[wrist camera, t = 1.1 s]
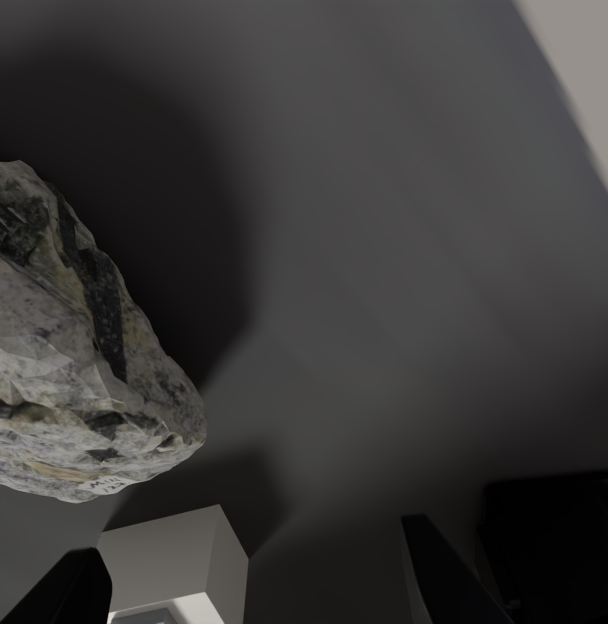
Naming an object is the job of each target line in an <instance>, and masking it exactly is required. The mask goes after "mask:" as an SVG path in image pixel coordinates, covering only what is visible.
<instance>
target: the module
mask: <svg viewBox="0 0 608 624" xmlns="http://www.w3.org/2000/svg"><path fill="white" fill-rule="evenodd" d="M96 548H97V549H98V550H99V552H100V554H101V556H102V559H103V561H104V563H105V565H106V568H107V570H108V572H109V574H110V576H111V579H112V587H113V589H112V598H111V604H110V610H109V616H108V621H107V624H243V616H244V605H245V594H246V583H247V572H248V561H249V559H248V557H247V555H246V553H245V552H244V550H243V548H242V546H241V544H240V542H239V540H238V538H237V536H236V535H235V533H234V531H233V529H232V527H231V525H230V523H229V521H228V520H227V518H226V516H225V514H224V512H223V510H222V508H221V506H220V505H219V504H218V505H214V506H210V507H205V508H201V509H197V510H193V511H189V512H185V513H180V514H176V515H172V516H168V517H164V518H160V519H156V520H151V521H147V522H143V523H139V524H135V525H131V526H126V527H122V528H118V529H114V530H110V531H106V532H102V534H101V536H100V539H99V541H98V544H97V547H96Z"/></svg>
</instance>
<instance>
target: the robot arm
mask: <svg viewBox="0 0 608 624" xmlns="http://www.w3.org/2000/svg"><path fill="white" fill-rule="evenodd" d="M496 494H497V495H496ZM494 495H495V496H494ZM399 531H400V546H401V557H402V564H403V569H404V575H405V581H406V586H407V592H408V598H409V603H410V609H411V615H412V620H413V624H608V472H601V473H591V474H582V475H572V476H562V477H553V478H543V479H533V480H524V481H514V482H504V483H495V484H491V485H489V486H487V487H486V488H485V489H484V492H483V511H482V524H479V525H478V527H477V528H476V545H475V564H476V567H477V570H478V573H479V576H480V579H481V581H480V580H479V578H478V577H477V576H476V575H475V574H474V572H473V571H472V570H471V569H470V567H469V566H468V565H467V564H466V562H465V561H464V560H463V559H462V557H461V556H460V555H459V554H458V553H457V551H456V550H455V549H454V548H453V546H452V545H451V544H450V543H449V541H448V540H447V539H446V538H445V536H444V535H443V534H442V533H441V532H440V530H439V529H438V528H437V527H436V525H435V524H434V523H433V522H432V520H431V519H430V518H429V517H428V516H427V515H426V514H425V513H422V512H419V513H409V514H402V515H401V516H400V517H399ZM112 589H113V587H112V579H111V576H110V574H109V572H108V570H107V568H106V565H105V563H104V561H103V559H102V556H101V554H100V552H99V550H98V549H97V548H95V547H83V548H75V549H71V550H69V551H68V552H67V553H65V554H64V555H63V556H62V558H61V559H60V560H59V561H58V562H57V563H56V564H55V565H54V566H53V567H52V568H51V569H50V570H49V571H48V572H47V573H46V574H45V575H44V576H43V577H42V578H41V580H40V581H39V582H38V583H37V584H36V585H35V586H34V587H33V588H32V589H31V590H30V591H29V592H28V593H27V594H26V595H25V596H24V597H23V598H22V599H21V601H20V602H19V603H18V604H17V605H16V606H15V607H14V608H13V609H12V610H11V611H10V612H9V613H8V614H7V615H6V616H5V617H4V618H3V619H2V620H1V622H0V624H107V621H108V616H109V610H110V604H111V598H112Z"/></svg>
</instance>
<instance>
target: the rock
mask: <svg viewBox="0 0 608 624" xmlns="http://www.w3.org/2000/svg"><path fill="white" fill-rule="evenodd" d="M208 423H209V422H208V418H207V414H206V410H205V406H204V402H203V400H202V398H201V397H200V395H199V393H198V391H197V390H196V388H195V386H194V384H193V383H192V382H191V380H190V379H189V378H188V376H187V375H186V374H185V372H184V371H183V369H182V368H181V367H180V366H179V365H178V364H177V363H176V362H175V361H174V360H173V359H172V358H171V357H170V356H166V354H165V353H164V351H163V349H162V348H161V346H160V344H159V341H158V338H157V336H156V335H155V333H154V332H153V329H152V327H151V324H150V322H149V320H148V318H147V317H146V315H145V314H144V313H143V311H142V310H141V308H140V307H139V306H138V305H136V304H135V303H134V302H133V301H132V299H131V297H130V295H129V293H128V291H127V289H126V287H125V284H124V279H123V277H122V275H121V273H120V272H119V270H118V268H117V266H116V265H115V264H114V262H113V261H112V260H111V259H110V258H109V256H108V255H107V254H105V253H104V252H103V251H101V250H100V249H99V248H98V247H97V246H96V243H95V241H94V238H93V235H92V233H91V232H90V231H89V230H88V229H87V228H86V227H85V226H84V224H83V223H82V222H81V221H80V220H79V219H78V217H77V216H76V214H75V212H74V211H73V209H72V207H71V206H70V205H69V204H68V203H67V202H66V201H65V199H64V196H63V194H62V193H61V192H60V191H59V190H58V189H57V187H56V186H55V185H54V184H53V183H50V182H46V181H42V180H41V179H40V178H39V177H38V176H37V175H36V173H35V172H34V170H33V169H32V168H31V167H30V166H28V165H27V164H25V163H24V162H22V161H21V160H17V161H12V162H0V484H3V485H6V486H9V487H11V488H13V489H16V490H20V491H24V492H29V493H34V494H39V495H44V496H51V497H57V498H58V499H59V500H62V501H67V502H72V503H80V502H84V501H88V500H93V499H94V498H96V497H98V496H100V495H107V494H113V493H117V492H119V491H120V490H122V489H123V488H124V487H126V486H127V485H130V484H134V483H138V482H143V481H147V480H150V479H152V478H153V477H155V476H157V475H158V474H160V473H162V472H165V471H168V470H170V469H171V468H172V467H173V466H176V465H177V464H179V463H181V462H182V461H184V460H186V459H187V458H189V457H190V456H191V455H192V454H193V453H194V451H195V450H197V449H198V448H199V447H201V446H202V445H204V442H205V439H206V436H207V431H208Z"/></svg>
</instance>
